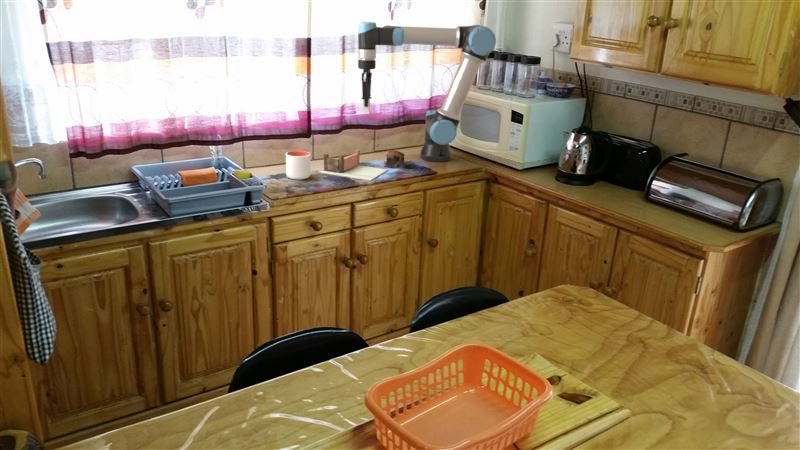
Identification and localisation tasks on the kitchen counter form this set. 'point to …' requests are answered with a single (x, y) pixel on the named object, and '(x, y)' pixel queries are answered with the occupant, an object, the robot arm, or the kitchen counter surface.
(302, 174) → the cup
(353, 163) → the fence panel
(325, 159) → the fence fixed
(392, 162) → the brown rock
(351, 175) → the card
